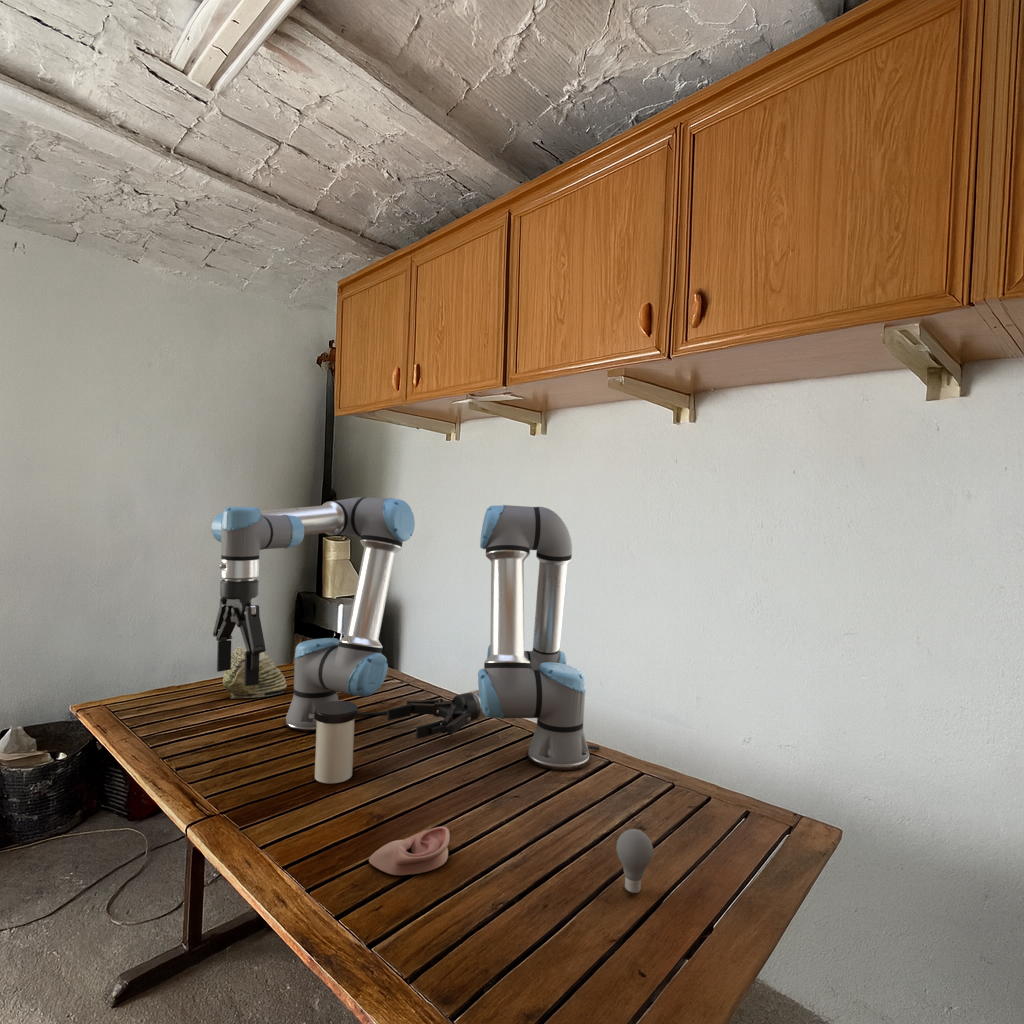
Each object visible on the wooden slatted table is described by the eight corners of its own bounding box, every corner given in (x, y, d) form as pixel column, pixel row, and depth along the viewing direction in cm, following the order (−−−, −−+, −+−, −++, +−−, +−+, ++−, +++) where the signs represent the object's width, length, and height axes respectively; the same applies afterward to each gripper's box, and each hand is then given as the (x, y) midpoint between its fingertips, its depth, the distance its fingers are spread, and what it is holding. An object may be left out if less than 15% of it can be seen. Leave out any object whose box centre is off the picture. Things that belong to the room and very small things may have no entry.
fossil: (218, 695, 195) (220, 647, 195) (278, 685, 208) (279, 640, 207) (228, 703, 189) (230, 653, 188) (289, 692, 201) (290, 645, 201)
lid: (319, 709, 148) (320, 700, 148) (360, 710, 149) (360, 701, 149) (309, 723, 139) (309, 713, 139) (352, 724, 140) (353, 714, 140)
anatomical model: (361, 846, 108) (388, 814, 119) (360, 870, 108) (387, 835, 119) (436, 859, 105) (456, 825, 117) (435, 882, 105) (455, 846, 117)
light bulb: (610, 879, 108) (613, 822, 108) (644, 879, 109) (647, 822, 109) (619, 902, 102) (622, 840, 102) (655, 901, 103) (658, 840, 103)
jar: (319, 767, 148) (321, 702, 148) (355, 767, 149) (358, 703, 148) (310, 783, 140) (312, 715, 139) (348, 783, 140) (351, 716, 140)
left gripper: (198, 573, 141) (196, 667, 142) (248, 587, 124) (245, 695, 125) (232, 571, 147) (229, 662, 147) (284, 584, 130) (281, 687, 130)
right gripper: (499, 735, 161) (429, 756, 147) (443, 706, 180) (376, 722, 166) (500, 707, 161) (430, 725, 147) (444, 680, 180) (377, 694, 166)
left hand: (237, 677), depth 136 cm, fingers open, 13 cm apart
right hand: (401, 723), depth 156 cm, fingers open, 13 cm apart
